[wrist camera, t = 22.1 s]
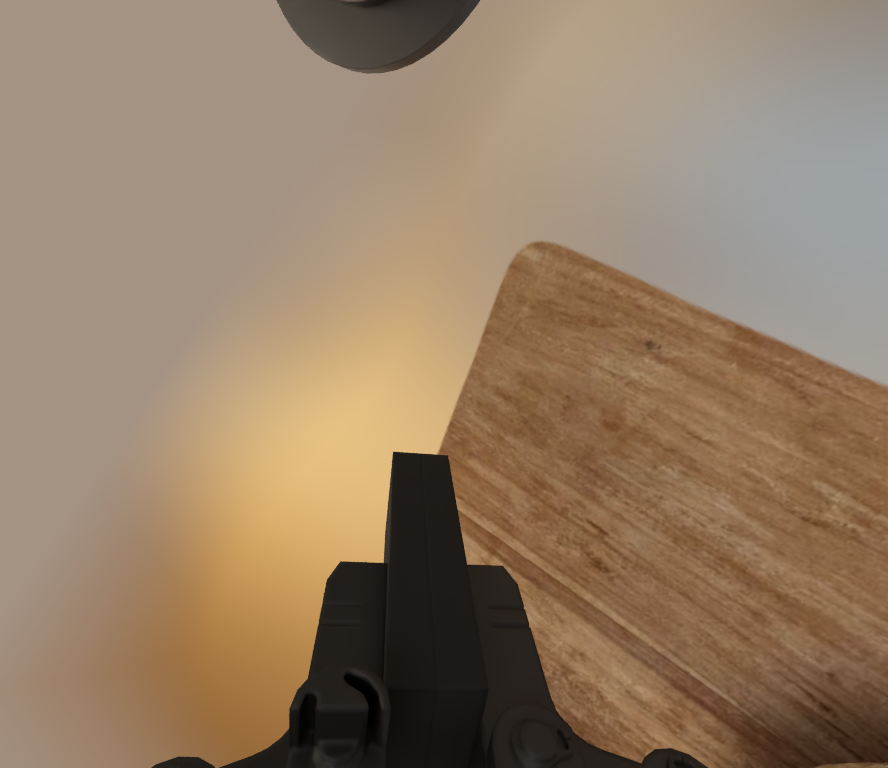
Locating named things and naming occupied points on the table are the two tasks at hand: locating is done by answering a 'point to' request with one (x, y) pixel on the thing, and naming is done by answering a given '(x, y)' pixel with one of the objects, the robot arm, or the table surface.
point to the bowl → (854, 765)
